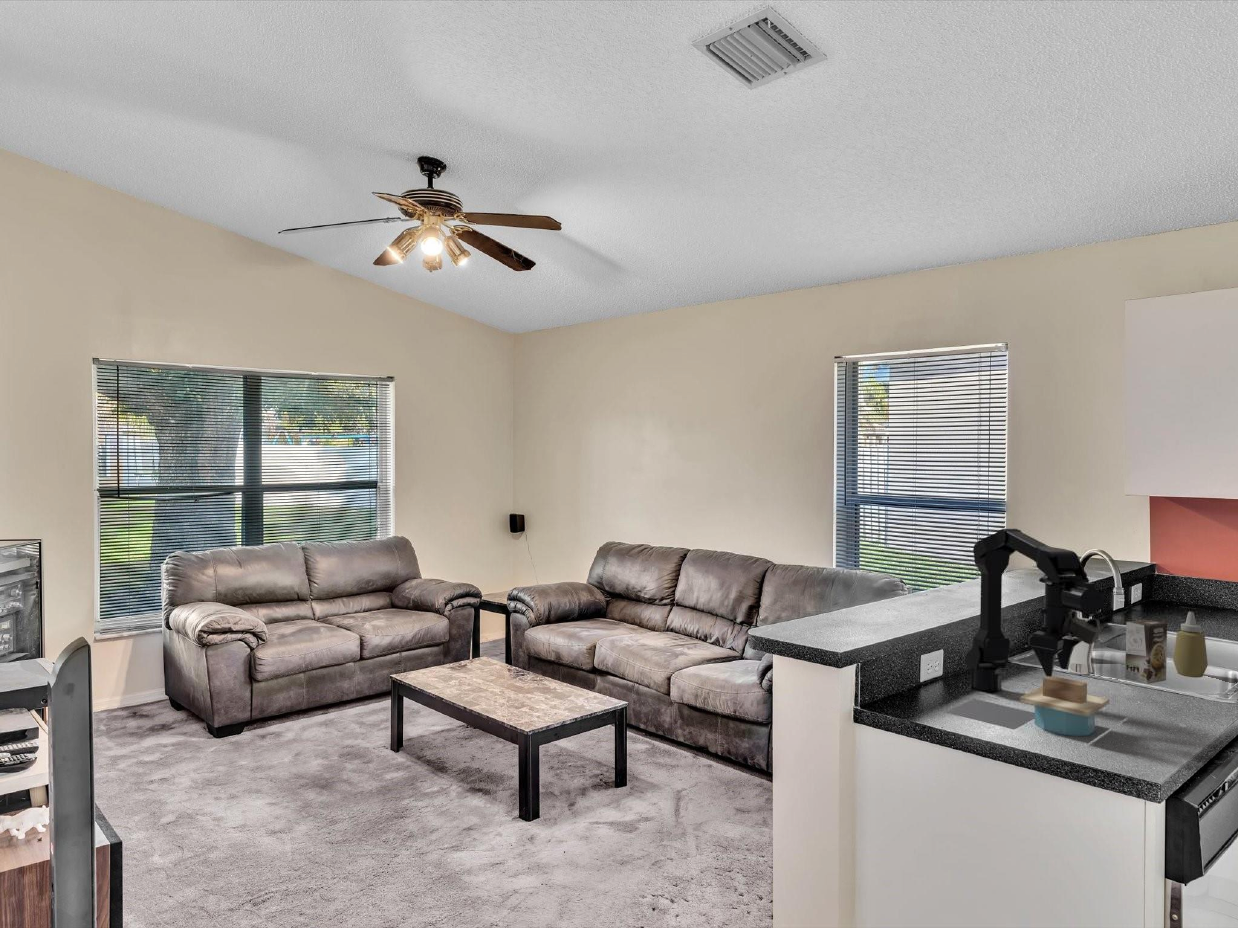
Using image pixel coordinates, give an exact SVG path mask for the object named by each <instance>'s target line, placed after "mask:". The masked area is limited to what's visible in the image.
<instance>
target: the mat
mask: <svg viewBox="0 0 1238 928" xmlns="http://www.w3.org/2000/svg"><path fill="white" fill-rule="evenodd" d="M945 714H950V715H953V716H958V717H963V718H967V719H970V720H974V721H978V722H982V723H985V724H986V723H987V724H990V725H995V726H998V727H1002V728H1007V729H1010V730H1015V729H1017V728H1019V727H1021V726H1023V725H1025V724H1026V723H1028V722H1030V721H1032V720H1035V711H1029V710H1024V709H1020V708H1016V707H1012V706H1008V705H1003V704H999V703H994V702H990V701H985V700H980V699H977V698H973V699H970V700H968V701H967V702H964V703H961V704H960V705H957V706H954V707H953V708H950V709H949V710H946V711H945Z"/></svg>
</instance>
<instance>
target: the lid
mask: <svg viewBox="0 0 1238 928" xmlns="http://www.w3.org/2000/svg"><path fill="white" fill-rule="evenodd" d="M1019 702H1021V703H1025V704H1030V705H1034V706H1035V705H1037V706H1042V707H1046V708H1051V709H1055V710H1060V711H1064V712H1069V713H1073V714H1078V715H1082V716H1087V717H1088V716H1090V715H1092V714H1093V713H1095V714H1096V712H1098V711H1100V710H1102V709H1104V707H1106V706H1108V705H1109V704H1110V698H1106V697H1100V696H1096V695H1091V694H1088V682H1084V681H1079V680H1073V679H1069V678H1064V677H1058V676H1053V675H1052V676H1051V677H1049V676H1045V677H1043V678H1042V686H1039V687H1038V688H1036V689H1034V690H1032V691H1030V692H1027V693H1025V694H1024V695H1021V696H1020V697H1019Z"/></svg>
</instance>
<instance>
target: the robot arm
mask: <svg viewBox="0 0 1238 928" xmlns="http://www.w3.org/2000/svg"><path fill="white" fill-rule="evenodd" d="M972 550H973V551H972V552H973V560H974V561H973V562H974V564H975V565H976V567H977V569H978V571H979V573H980V617H979V618H980V620H979V621H980V622H979V623H980V624H979V629H978V630H977V632H976V634H975V635H974V637H973V638H972V639H973V640H972V648H971V649H970V650H969V651H968V652H967V654H965V656H964V661H965V666H967V667H969V668H970V685H969V686H968V687H967V689H968V690H971V691H976V692H981V693H986V694H989V695H994V694H996V693H998V692H1001V691H1003V688H1002V678H1003V677H1002V674H1001V672H1000V671H1001V669H1006V668H1007V667H1006V665H1007V663H1008V659H1009V656H1010V654H1011V650H1010V643H1011V640H1010V639H1009V637H1006V636H1005V634H1004V633H1003V631H1002V597H1003V596H1002V595H1003V594H1002V592H1003V590H1002V589H1003V588H1002V587H1003V574H1004V572H1005V571H1006V570H1007V568H1008V566H1009V565H1010V558H1011V557H1010V556H1012V555H1013V554H1014V553H1015V552H1018V553H1019V554H1021V555H1023V556H1025V557H1026V558H1028V559H1030V560H1031V561H1033V562H1035V565H1036V567H1037V568H1038V569H1039V571H1040V572H1042V573H1043V574H1044V575H1043V576H1042V577H1040V578H1039V579H1038V581H1039V582H1040V583H1043V584H1044V605H1043V607H1042V608H1041V609H1040V610H1041V611H1040V613H1041V614H1043V625H1041V626H1040V630H1037V631H1035V632H1032V633H1031V634H1030V635H1029V636H1028V637H1027V639H1028V640H1027V641H1028V643H1027V645H1028V646H1030V648H1031V649H1033V652H1034V654H1035V655H1036V658H1037V659H1038V662H1039V664H1040V666H1041V669H1042V670H1043V672H1044V674H1045V677H1047V676H1049V677H1051V676H1053V672H1054V667H1055V662H1056V659H1057V661H1058V663H1059V667H1060V669H1061V670H1068V667H1069V663H1070V657H1071V654H1072V652H1073V649H1074V647H1075V646H1076V645H1077V644H1079V643H1080V642H1082V641H1083V642H1085V643H1087V644H1092V643H1094V644H1095V643H1096V642H1097V640H1098V638H1099V637H1100V635H1102V634H1103V633H1102V628H1103V627H1101V624H1100V620H1098V619H1096V618H1095V617H1093V618H1089V619H1090V620H1088V621H1087V622H1086V620H1081V619H1079V618H1080V617H1078V612H1079V613H1083V614H1086V615H1090V616H1091V615H1092V616H1093V615H1095V614H1098V613H1099V612H1100V611H1101V609H1102V608H1103V605H1104V598H1103V596H1102V593H1101V592H1100V591H1099V590H1098V589H1096V583H1094V582H1090V579H1089V577H1088V574H1087V572H1086V571H1085V569H1084V566H1083V565H1082V563H1081V561H1080V559H1079V556H1078V554H1077V553H1076V552H1075V551H1073V550H1070V549H1065V548H1062V547H1061V548H1059V547H1054V546H1049V545H1047V544H1045V543H1043V542H1041V541H1039V540H1038V539H1035V538H1034V537H1032V536H1030V535H1028V534H1026V533H1024V532H1023V531H1022V530H1021V529H1018V528H1002V529H999V530H997V532H994V533H993V534H991V535H989V536H986V537H983V538H981V539H979V540H978V541H977V542H976V543H975V544H974V545H973V549H972ZM1078 638H1079V639H1078ZM1056 654H1057V657H1058V658H1056Z"/></svg>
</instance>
